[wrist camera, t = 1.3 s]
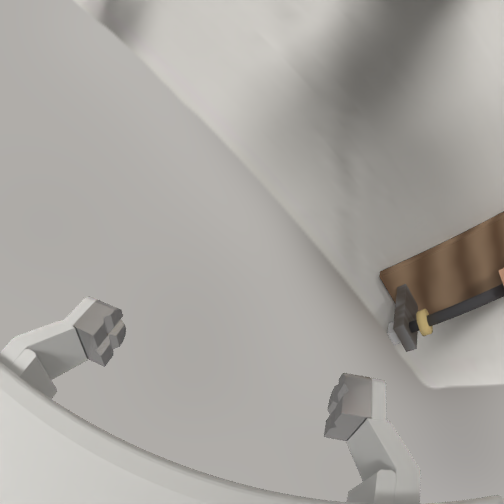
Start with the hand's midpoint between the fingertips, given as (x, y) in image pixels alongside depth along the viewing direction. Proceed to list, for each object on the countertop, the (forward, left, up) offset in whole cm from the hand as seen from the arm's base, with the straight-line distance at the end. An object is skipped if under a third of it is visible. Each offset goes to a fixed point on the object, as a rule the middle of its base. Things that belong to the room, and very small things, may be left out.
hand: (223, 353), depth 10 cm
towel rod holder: (-5, +25, -37) cm, 45 cm away
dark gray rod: (-4, +25, -30) cm, 39 cm away
